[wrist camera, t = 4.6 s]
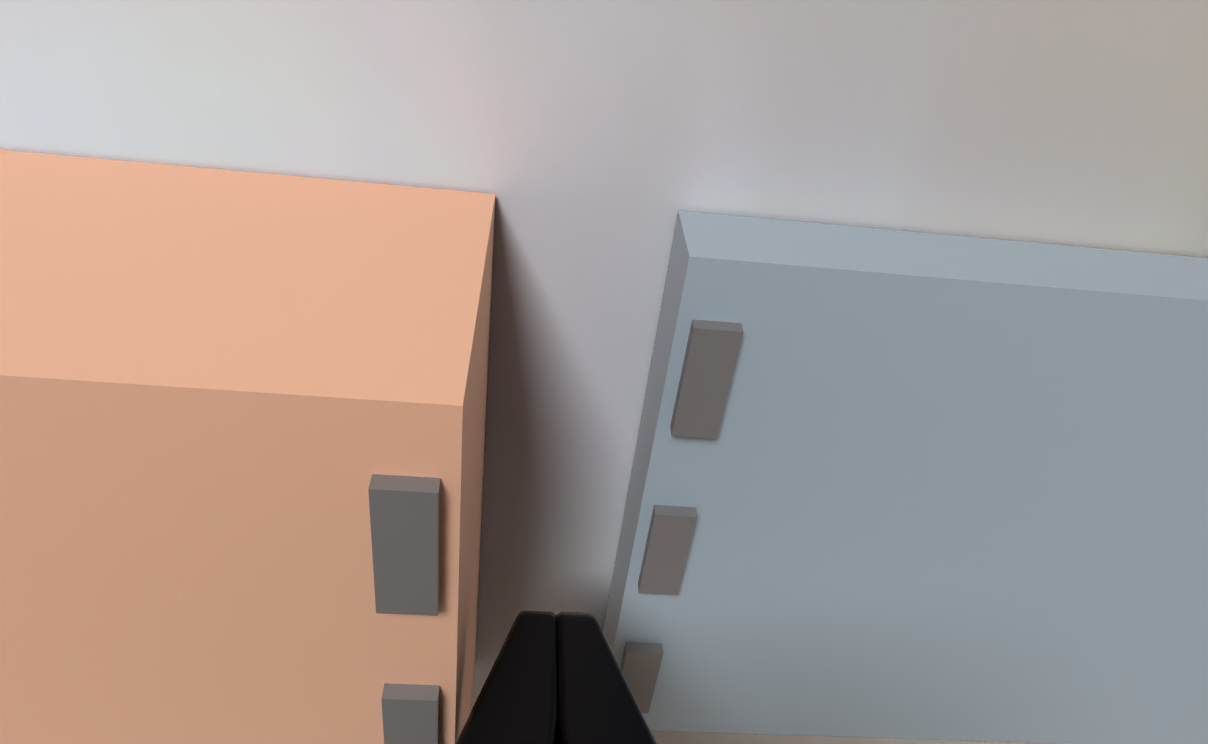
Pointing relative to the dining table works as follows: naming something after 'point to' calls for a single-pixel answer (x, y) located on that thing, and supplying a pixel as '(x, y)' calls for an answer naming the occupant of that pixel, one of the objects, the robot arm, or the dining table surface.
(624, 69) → the dining table surface
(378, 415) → the stub
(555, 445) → the dining table surface
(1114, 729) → the blue-grey flat panel
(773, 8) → the dining table surface
